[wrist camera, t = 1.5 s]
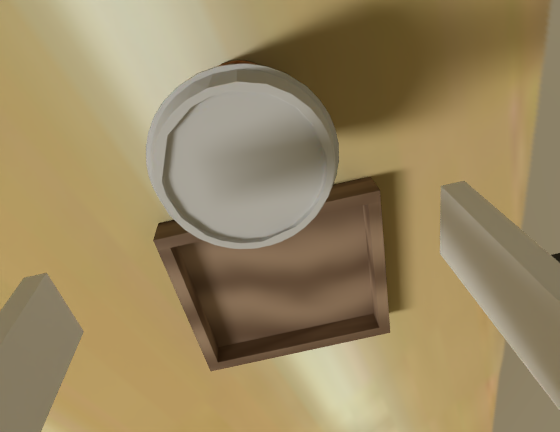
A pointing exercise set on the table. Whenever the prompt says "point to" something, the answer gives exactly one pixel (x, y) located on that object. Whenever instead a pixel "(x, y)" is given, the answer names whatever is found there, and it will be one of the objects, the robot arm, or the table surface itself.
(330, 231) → the walnut tray
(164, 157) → the disposable coffee cup
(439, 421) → the table surface
